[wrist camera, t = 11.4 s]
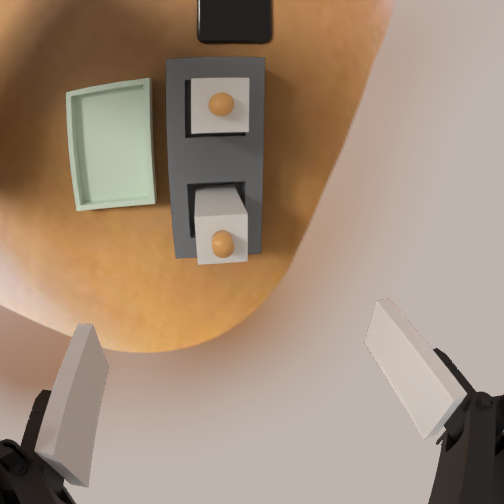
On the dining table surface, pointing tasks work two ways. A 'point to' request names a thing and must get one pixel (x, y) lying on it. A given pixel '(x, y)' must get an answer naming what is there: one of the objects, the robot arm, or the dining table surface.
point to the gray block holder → (214, 138)
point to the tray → (112, 144)
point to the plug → (220, 225)
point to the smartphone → (234, 21)
